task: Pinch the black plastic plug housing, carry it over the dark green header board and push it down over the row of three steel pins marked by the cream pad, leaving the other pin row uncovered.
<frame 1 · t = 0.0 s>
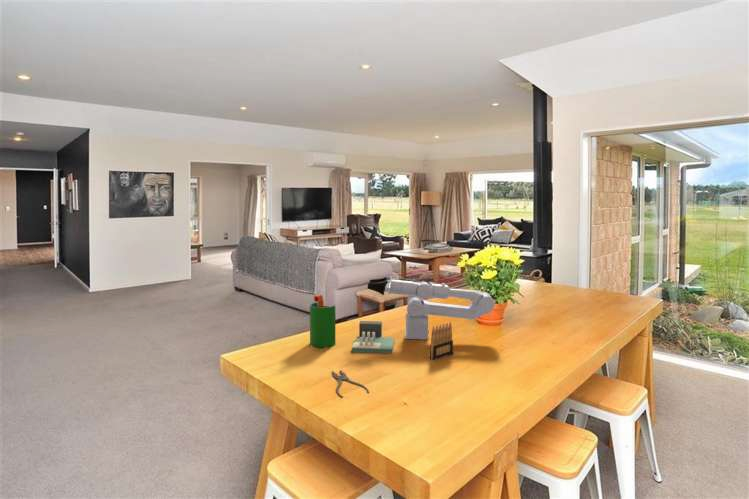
hand: (368, 284, 189), 22 cm above the table, tool horizontal, fingers open, 7 cm apart
pliers: (342, 386, 143), on the table
ammunition clip: (441, 356, 167), on the table
plug housing: (370, 336, 190), on the table
green and brown cylinder: (322, 344, 180), on the table
header board: (374, 346, 178), on the table
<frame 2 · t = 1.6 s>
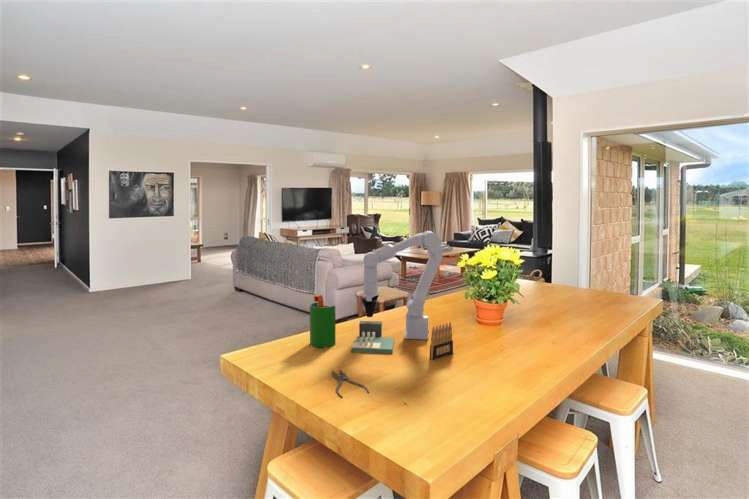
hand: (370, 314, 188), 9 cm above the table, tool pointing down, fingers open, 7 cm apart
nothing on the table moved.
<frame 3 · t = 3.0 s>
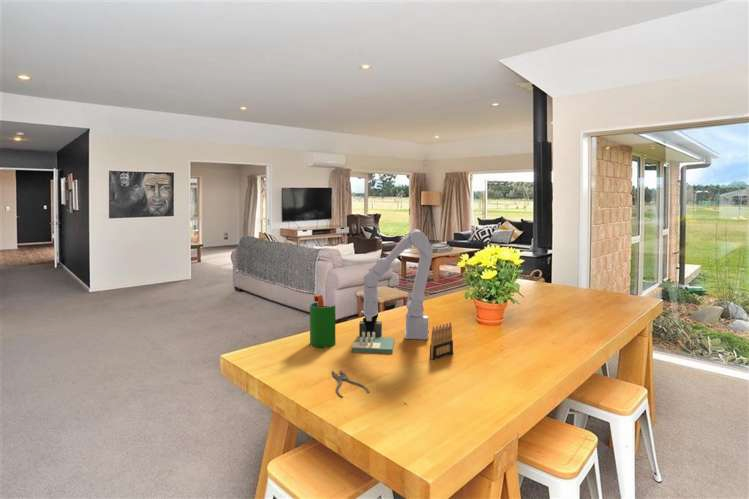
hand: (370, 333, 189), 1 cm above the table, tool pointing down, fingers closed on plug housing, 4 cm apart
plug housing: (370, 336, 190), on the table, touching gripper
everything else where it was.
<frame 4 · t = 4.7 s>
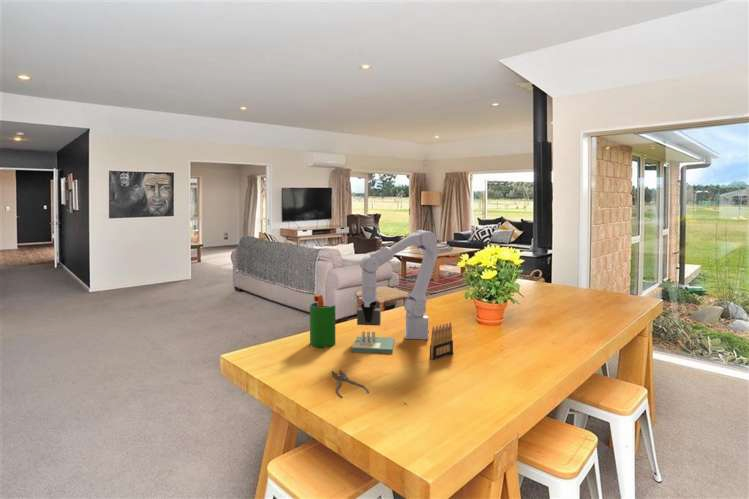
hand: (369, 320, 183), 8 cm above the table, tool pointing down, fingers closed on plug housing, 4 cm apart
plug housing: (369, 323, 183), point 7 cm above the table, touching gripper
everything else where it was.
when the fingers open (4 cm above the table, at t = 6.6 s): plug housing stays where it is, resting on header board.
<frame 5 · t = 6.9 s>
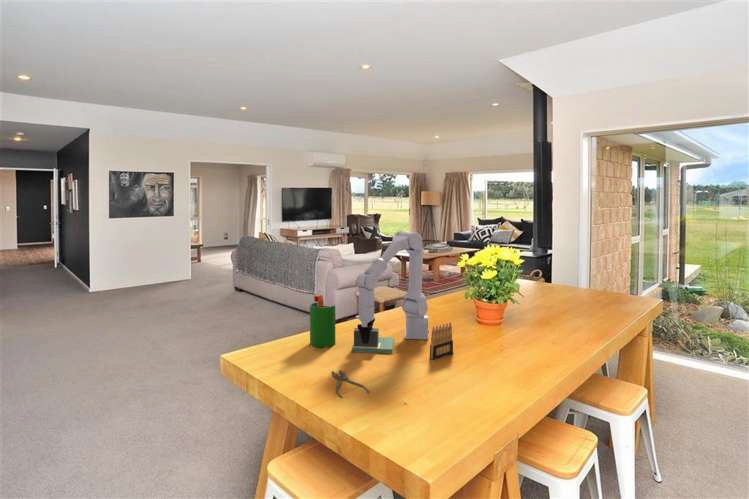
hand: (366, 340, 174), 4 cm above the table, tool pointing down, fingers open, 7 cm apart
plug housing: (366, 344, 174), point 2 cm above the table, touching header board
everything else where it was.
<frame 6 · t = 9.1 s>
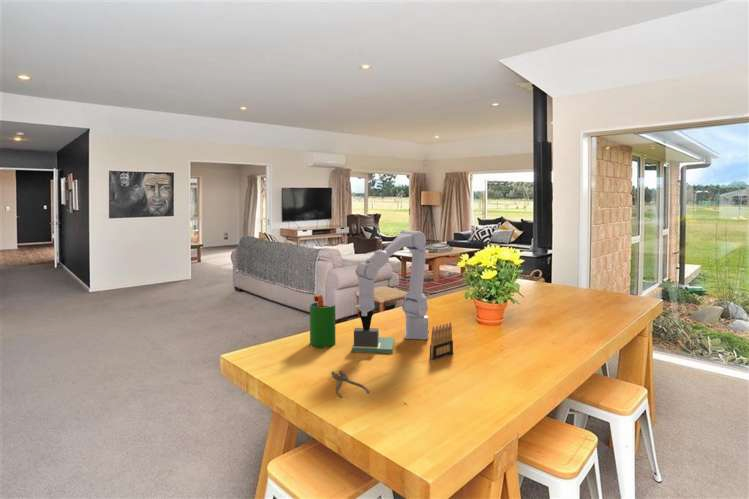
hand: (366, 329, 173), 8 cm above the table, tool pointing down, fingers closed, pressing on plug housing
plug housing: (366, 344, 174), point 2 cm above the table, touching gripper, header board
everything else where it was.
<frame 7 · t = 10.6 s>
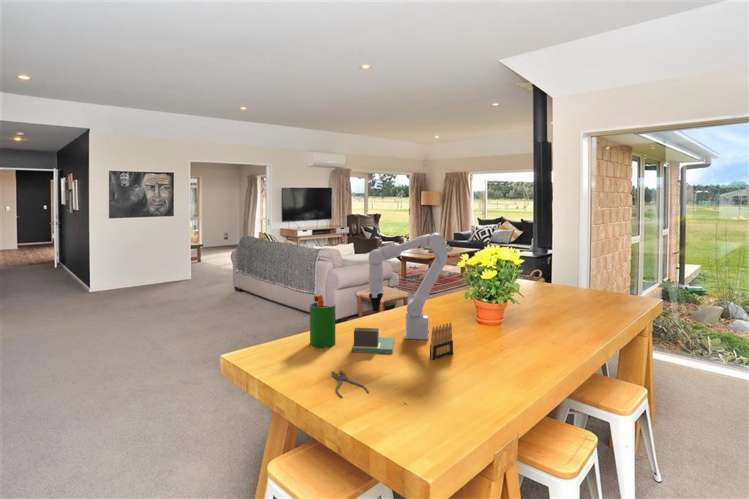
hand: (376, 311, 190), 10 cm above the table, tool pointing down, fingers closed
plug housing: (366, 344, 174), point 2 cm above the table, touching header board
everything else where it was.
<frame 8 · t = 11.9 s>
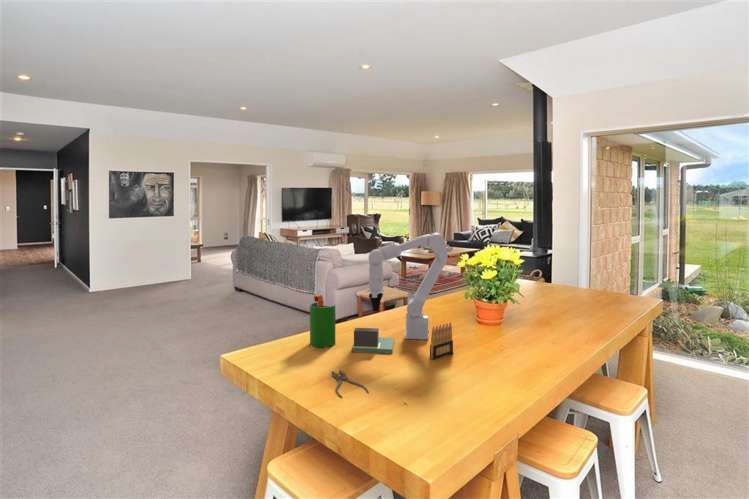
hand: (376, 311, 190), 10 cm above the table, tool pointing down, fingers closed
nothing on the table moved.
at the end: plug housing 0.1 cm from the target spot on the header board, point 1.7 cm above the header board's base; plug housing tilted 0°; the gripper is holding nothing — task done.
